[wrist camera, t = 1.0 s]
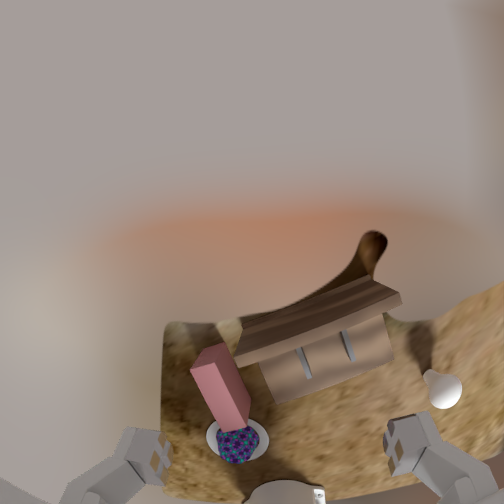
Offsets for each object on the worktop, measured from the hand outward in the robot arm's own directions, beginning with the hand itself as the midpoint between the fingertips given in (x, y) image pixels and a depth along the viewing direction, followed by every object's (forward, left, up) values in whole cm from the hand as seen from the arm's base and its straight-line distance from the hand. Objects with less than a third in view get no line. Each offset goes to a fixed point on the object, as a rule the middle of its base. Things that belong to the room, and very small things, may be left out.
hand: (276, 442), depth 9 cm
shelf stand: (-13, -3, -40) cm, 42 cm away
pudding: (-27, +18, -40) cm, 51 cm away
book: (-13, +14, -40) cm, 44 cm away
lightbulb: (-28, -20, -40) cm, 53 cm away
